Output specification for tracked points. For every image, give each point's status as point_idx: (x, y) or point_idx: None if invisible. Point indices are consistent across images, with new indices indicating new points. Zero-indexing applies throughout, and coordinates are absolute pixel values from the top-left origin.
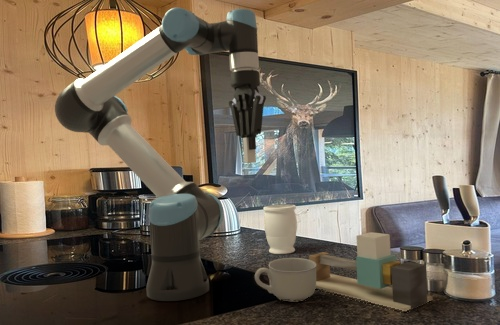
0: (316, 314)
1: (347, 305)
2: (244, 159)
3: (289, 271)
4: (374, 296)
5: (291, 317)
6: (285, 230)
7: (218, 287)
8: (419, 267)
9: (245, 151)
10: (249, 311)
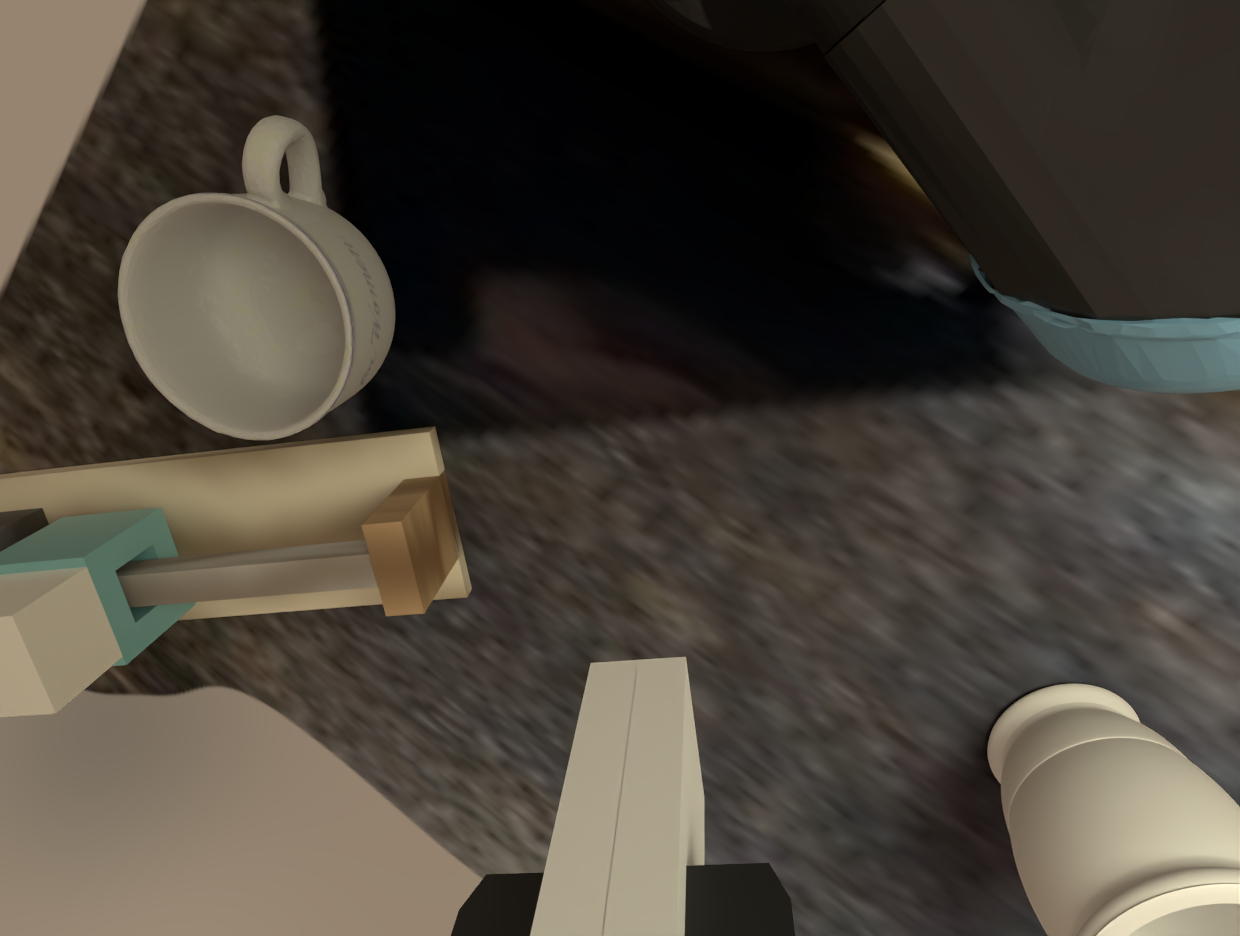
0: (100, 243)
1: (135, 396)
2: (672, 693)
3: (134, 237)
4: (117, 503)
5: (113, 144)
6: (1027, 814)
7: (692, 98)
8: None
9: (617, 800)
10: (260, 35)
